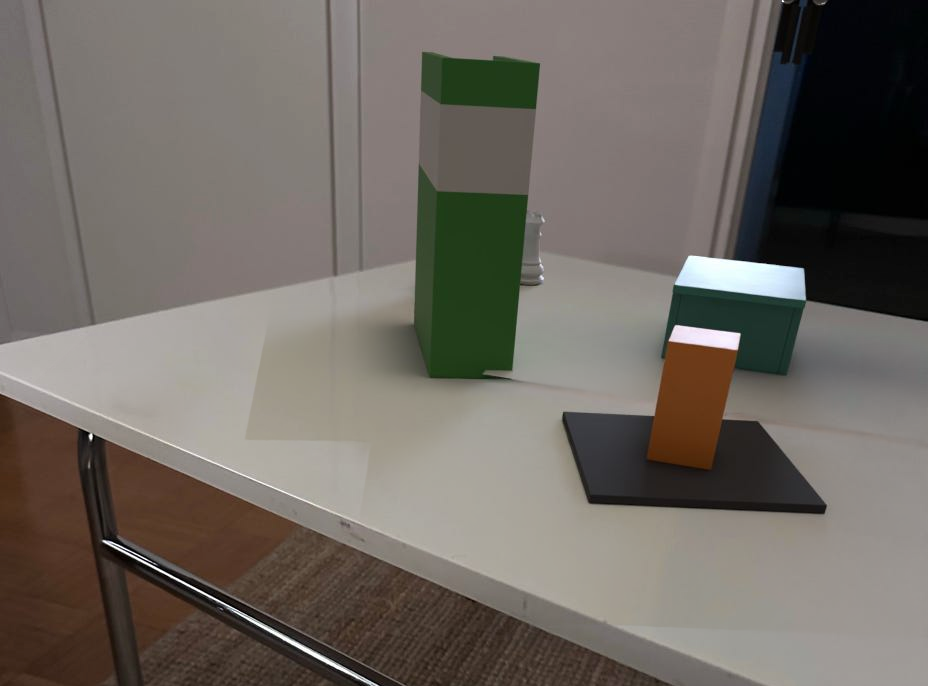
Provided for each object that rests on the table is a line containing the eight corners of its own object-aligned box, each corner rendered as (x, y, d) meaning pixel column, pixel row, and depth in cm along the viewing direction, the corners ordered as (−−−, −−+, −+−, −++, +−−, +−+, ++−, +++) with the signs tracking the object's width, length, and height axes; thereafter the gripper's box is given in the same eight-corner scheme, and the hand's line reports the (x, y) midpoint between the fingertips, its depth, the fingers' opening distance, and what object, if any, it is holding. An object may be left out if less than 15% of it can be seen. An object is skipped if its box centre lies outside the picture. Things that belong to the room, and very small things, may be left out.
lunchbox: (784, 383, 86) (804, 308, 82) (659, 365, 88) (672, 292, 84) (785, 343, 97) (802, 276, 94) (674, 329, 100) (687, 262, 96)
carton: (710, 470, 65) (737, 350, 61) (646, 459, 66) (668, 340, 62) (715, 448, 69) (740, 333, 64) (653, 438, 70) (674, 324, 65)
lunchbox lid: (804, 309, 81) (806, 300, 81) (672, 292, 84) (673, 284, 83) (802, 275, 94) (804, 268, 93) (687, 262, 96) (688, 255, 96)
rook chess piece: (504, 277, 117) (510, 208, 112) (538, 277, 118) (545, 209, 113) (512, 285, 113) (518, 214, 109) (547, 285, 114) (555, 215, 110)
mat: (756, 427, 75) (758, 420, 75) (825, 513, 62) (827, 505, 61) (561, 418, 75) (562, 411, 74) (589, 502, 61) (590, 494, 61)
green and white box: (413, 323, 96) (422, 51, 83) (483, 325, 97) (503, 56, 84) (429, 377, 81) (442, 57, 68) (511, 378, 82) (540, 63, 69)
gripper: (962, -230, 66) (883, 70, 76) (749, -228, 70) (700, 58, 80) (979, -258, 60) (891, 71, 70) (745, -255, 64) (693, 59, 74)
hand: (790, 63), depth 75 cm, fingers closed
